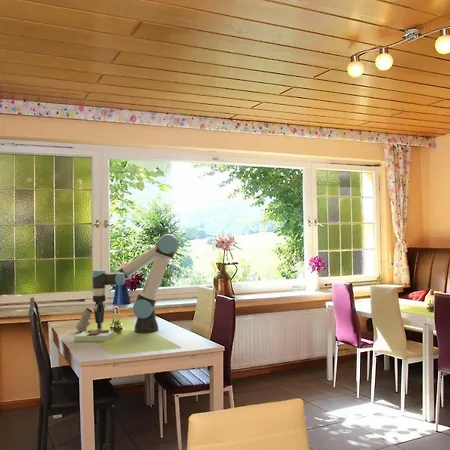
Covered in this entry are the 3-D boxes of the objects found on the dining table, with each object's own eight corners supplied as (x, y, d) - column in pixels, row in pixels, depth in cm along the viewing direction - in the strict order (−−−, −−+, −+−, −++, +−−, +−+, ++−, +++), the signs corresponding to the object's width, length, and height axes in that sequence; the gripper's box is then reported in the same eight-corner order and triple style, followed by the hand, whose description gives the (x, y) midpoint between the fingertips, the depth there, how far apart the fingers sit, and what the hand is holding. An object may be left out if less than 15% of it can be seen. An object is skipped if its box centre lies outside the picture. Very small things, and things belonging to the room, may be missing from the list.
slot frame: (114, 336, 322) (114, 331, 322) (105, 341, 307) (105, 336, 307) (84, 336, 324) (84, 331, 324) (74, 341, 310) (74, 336, 310)
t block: (108, 336, 323) (108, 329, 323) (101, 340, 311) (101, 333, 311) (90, 336, 325) (89, 329, 325) (82, 340, 313) (82, 333, 313)
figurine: (88, 333, 334) (87, 309, 334) (73, 332, 336) (73, 309, 336) (94, 330, 343) (94, 307, 343) (80, 330, 345) (79, 307, 345)
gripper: (97, 293, 332) (97, 331, 331) (89, 296, 319) (90, 335, 319) (108, 293, 331) (109, 331, 330) (101, 296, 318) (101, 335, 318)
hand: (99, 333), depth 324 cm, fingers closed
